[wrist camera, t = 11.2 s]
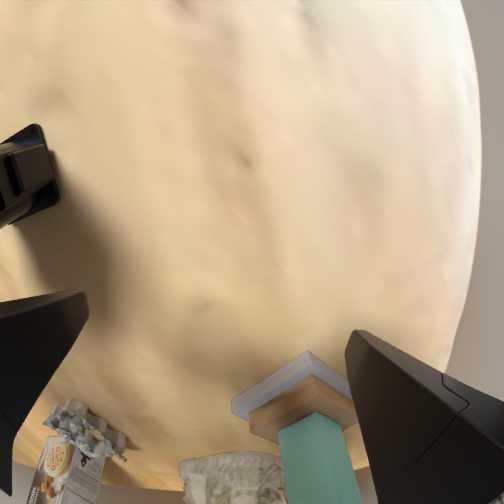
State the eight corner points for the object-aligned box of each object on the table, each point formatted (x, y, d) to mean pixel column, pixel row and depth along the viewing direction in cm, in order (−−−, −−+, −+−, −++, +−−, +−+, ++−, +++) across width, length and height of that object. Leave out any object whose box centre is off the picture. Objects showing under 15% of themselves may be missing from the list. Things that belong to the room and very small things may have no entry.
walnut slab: (297, 435, 31) (300, 452, 29) (248, 412, 28) (250, 432, 26) (355, 401, 29) (361, 419, 26) (312, 373, 26) (318, 394, 24)
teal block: (277, 431, 26) (292, 533, 16) (316, 411, 25) (342, 519, 15) (304, 442, 28) (322, 533, 18) (340, 424, 26) (366, 518, 17)
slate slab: (290, 425, 34) (293, 441, 31) (231, 394, 30) (231, 412, 28) (358, 384, 31) (364, 400, 29) (306, 344, 28) (311, 363, 25)
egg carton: (135, 439, 34) (130, 463, 30) (100, 444, 35) (95, 466, 31) (78, 393, 29) (68, 419, 26) (47, 402, 30) (37, 424, 27)
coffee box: (74, 456, 37) (55, 531, 22) (47, 435, 34) (21, 513, 20) (108, 455, 36) (91, 541, 21) (79, 433, 33) (54, 525, 19)
